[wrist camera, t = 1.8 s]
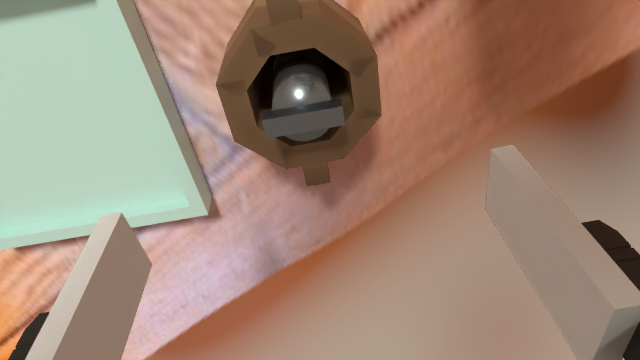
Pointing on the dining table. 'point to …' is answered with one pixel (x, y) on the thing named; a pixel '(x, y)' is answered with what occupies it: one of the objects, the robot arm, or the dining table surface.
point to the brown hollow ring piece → (256, 96)
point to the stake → (301, 98)
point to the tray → (87, 124)
